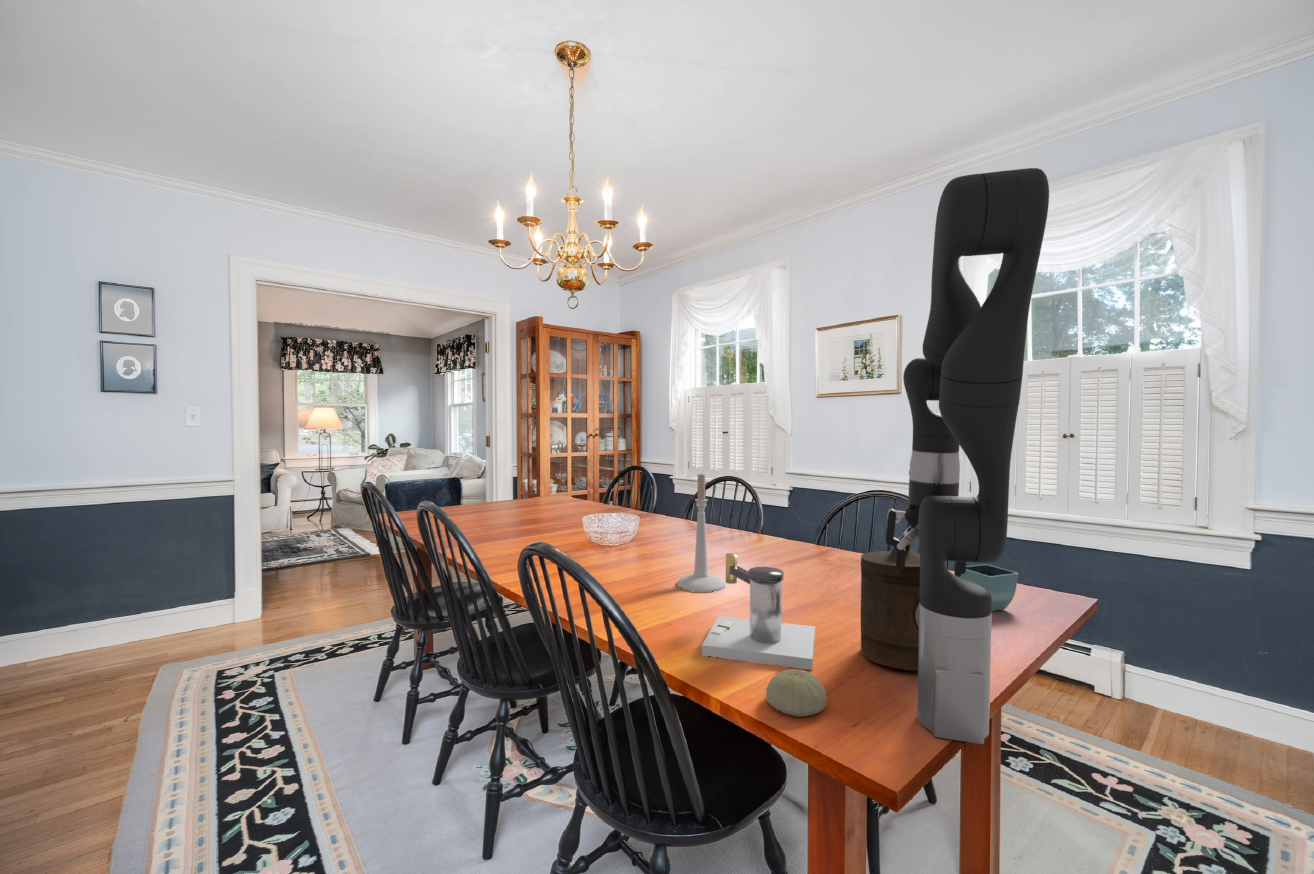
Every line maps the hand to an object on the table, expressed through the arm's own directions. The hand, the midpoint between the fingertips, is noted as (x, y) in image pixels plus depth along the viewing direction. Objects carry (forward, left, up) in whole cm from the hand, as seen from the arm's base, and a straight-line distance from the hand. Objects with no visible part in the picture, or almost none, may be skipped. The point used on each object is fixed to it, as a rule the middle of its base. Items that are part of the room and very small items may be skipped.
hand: (929, 572), depth 95 cm
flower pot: (+44, -19, -19) cm, 51 cm away
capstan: (+9, +32, -16) cm, 36 cm away
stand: (+6, +29, -18) cm, 35 cm away
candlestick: (+41, +49, -19) cm, 66 cm away
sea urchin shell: (-15, +21, -19) cm, 32 cm away
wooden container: (+8, +3, -18) cm, 20 cm away
